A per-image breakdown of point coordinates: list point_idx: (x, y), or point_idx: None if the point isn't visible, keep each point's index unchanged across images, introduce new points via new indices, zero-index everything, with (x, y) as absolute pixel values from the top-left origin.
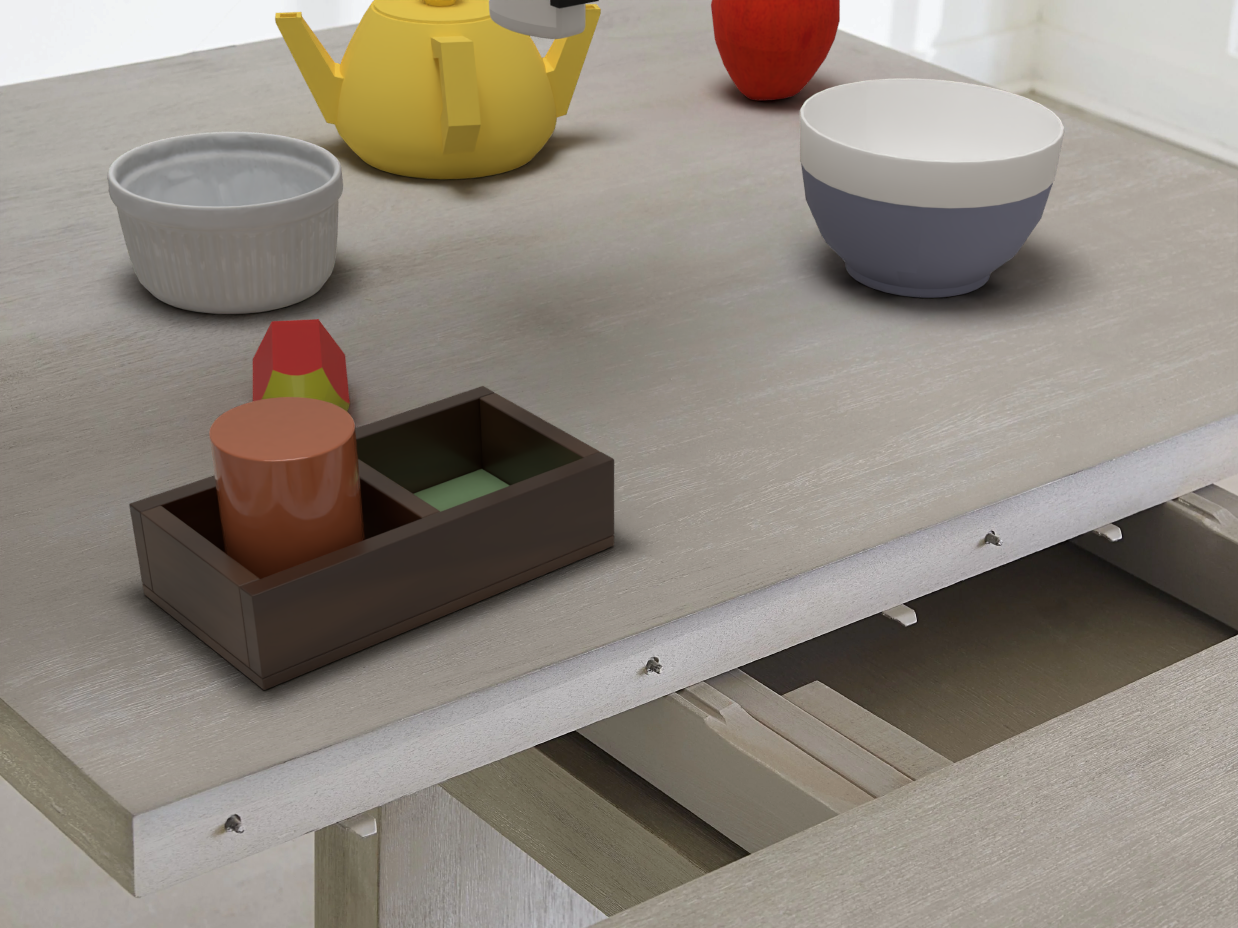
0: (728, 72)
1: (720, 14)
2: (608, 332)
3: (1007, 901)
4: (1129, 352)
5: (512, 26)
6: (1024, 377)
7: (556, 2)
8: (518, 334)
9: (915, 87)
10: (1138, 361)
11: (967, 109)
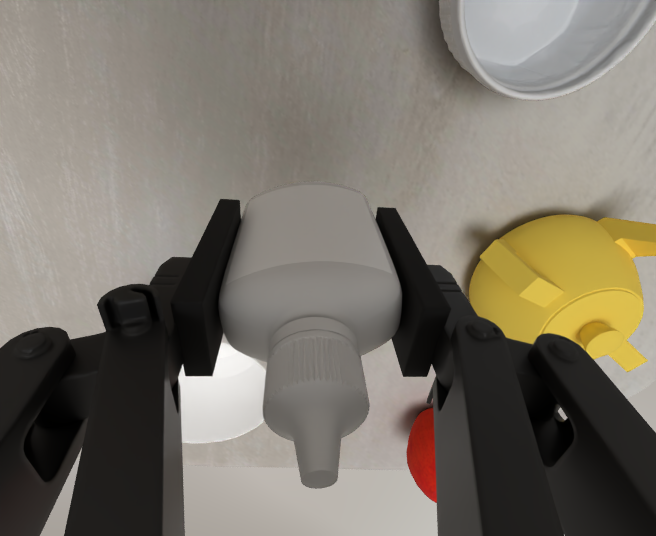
0: None
1: None
2: (248, 144)
3: None
4: (66, 327)
5: (307, 181)
6: (61, 273)
7: (225, 202)
8: (284, 93)
9: (254, 422)
10: (54, 323)
11: (230, 424)
